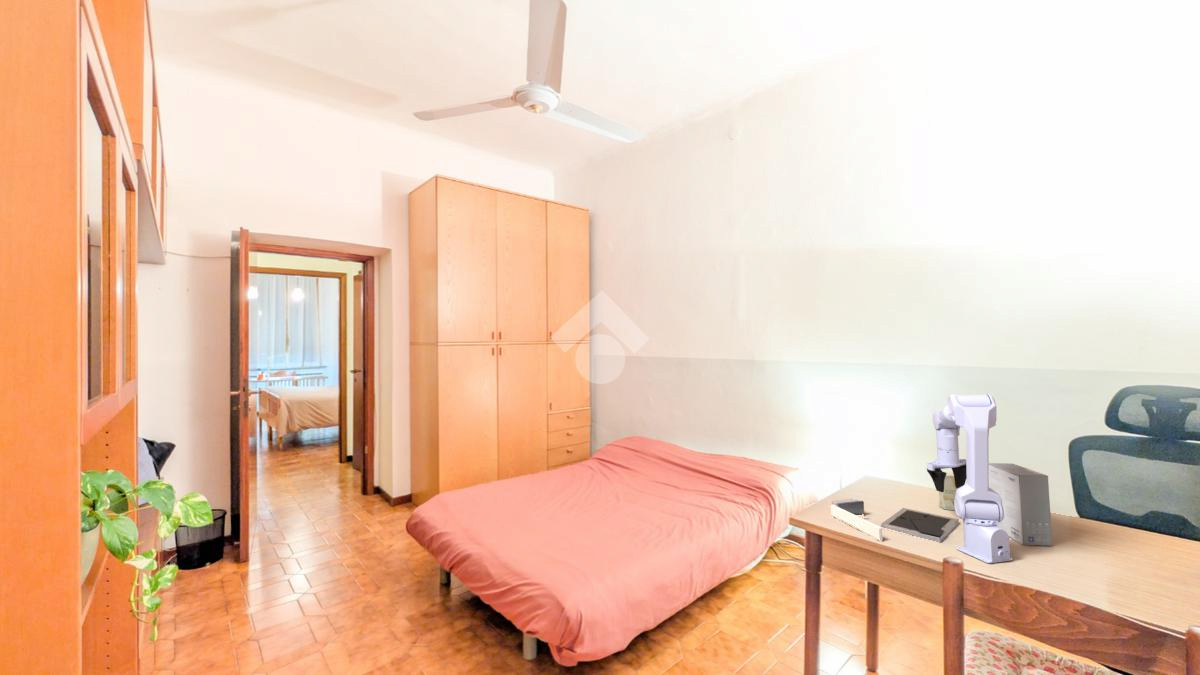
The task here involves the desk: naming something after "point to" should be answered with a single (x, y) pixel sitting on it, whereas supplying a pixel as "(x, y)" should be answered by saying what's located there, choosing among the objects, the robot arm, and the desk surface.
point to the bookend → (853, 507)
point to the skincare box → (948, 493)
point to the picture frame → (921, 524)
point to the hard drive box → (1023, 503)
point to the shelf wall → (857, 522)
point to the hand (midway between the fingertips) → (949, 489)
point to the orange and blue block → (843, 501)
